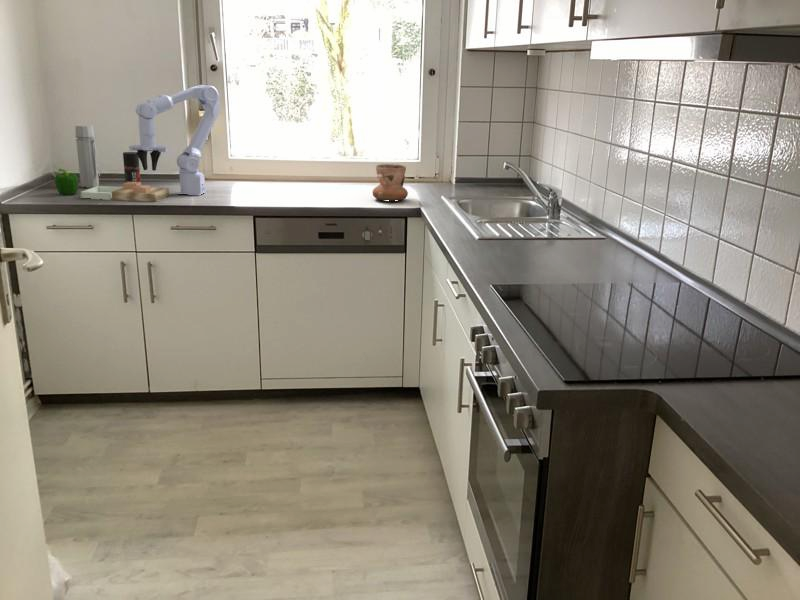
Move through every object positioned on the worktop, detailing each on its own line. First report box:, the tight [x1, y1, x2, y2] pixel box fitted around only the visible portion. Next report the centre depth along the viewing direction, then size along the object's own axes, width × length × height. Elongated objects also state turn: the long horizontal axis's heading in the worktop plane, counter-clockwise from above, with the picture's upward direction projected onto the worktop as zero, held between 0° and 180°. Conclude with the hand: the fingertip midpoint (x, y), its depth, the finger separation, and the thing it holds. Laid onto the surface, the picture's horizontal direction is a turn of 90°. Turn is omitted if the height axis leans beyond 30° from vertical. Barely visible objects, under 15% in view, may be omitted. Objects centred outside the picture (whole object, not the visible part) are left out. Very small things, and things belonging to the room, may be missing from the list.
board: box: [111, 186, 170, 203], centre depth 278 cm, size 17×14×3 cm
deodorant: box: [122, 151, 142, 183], centre depth 293 cm, size 6×6×15 cm
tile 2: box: [133, 184, 151, 193], centre depth 274 cm, size 5×5×2 cm
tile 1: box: [123, 181, 142, 189], centre depth 281 cm, size 5×5×2 cm
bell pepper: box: [54, 168, 80, 196], centre depth 278 cm, size 8×8×10 cm
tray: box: [79, 185, 124, 201], centre depth 279 cm, size 12×15×2 cm
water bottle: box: [74, 124, 101, 189], centre depth 293 cm, size 9×8×25 cm
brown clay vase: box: [372, 163, 409, 201], centre depth 291 cm, size 18×14×14 cm
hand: (149, 170), depth 278 cm, fingers open, 3 cm apart
